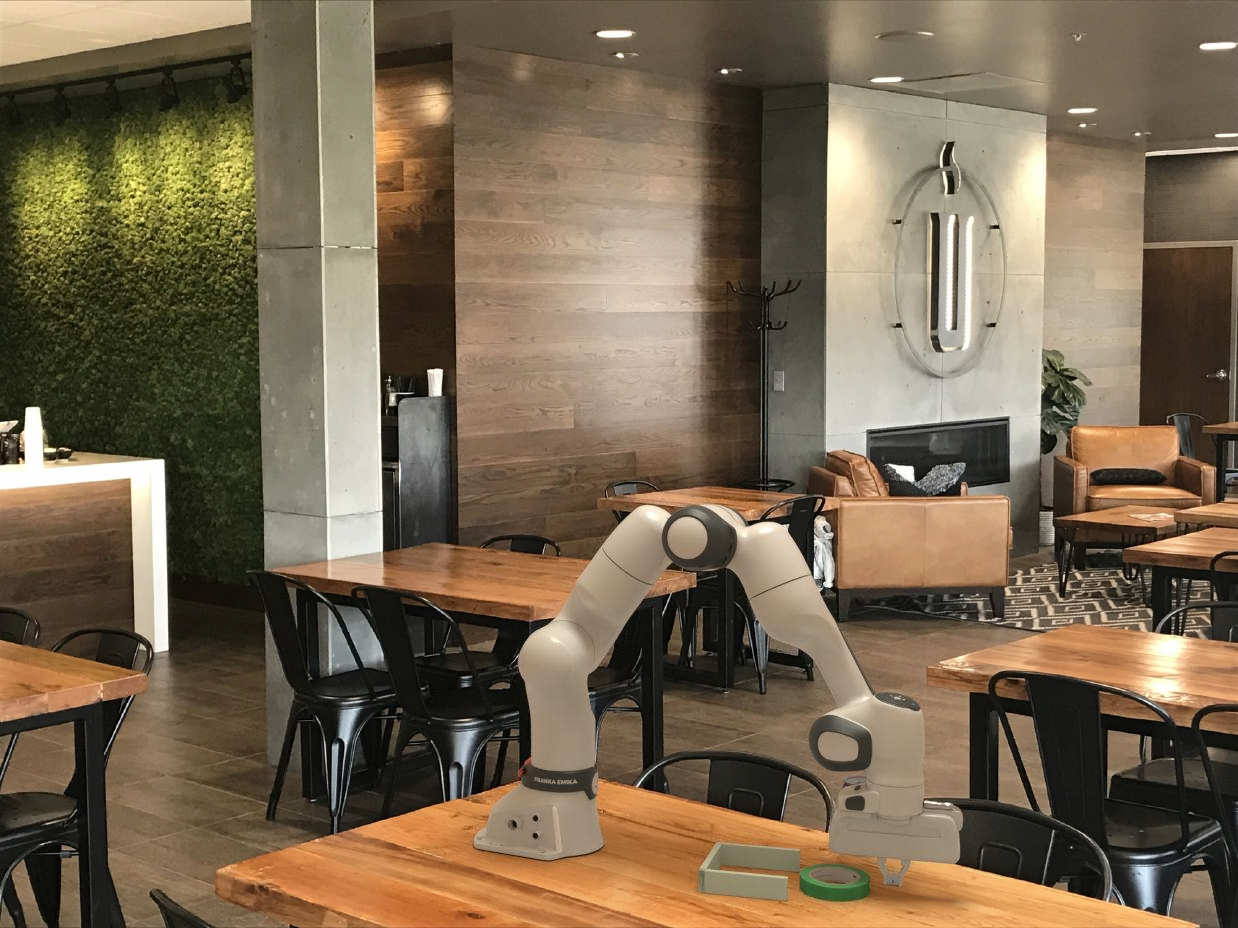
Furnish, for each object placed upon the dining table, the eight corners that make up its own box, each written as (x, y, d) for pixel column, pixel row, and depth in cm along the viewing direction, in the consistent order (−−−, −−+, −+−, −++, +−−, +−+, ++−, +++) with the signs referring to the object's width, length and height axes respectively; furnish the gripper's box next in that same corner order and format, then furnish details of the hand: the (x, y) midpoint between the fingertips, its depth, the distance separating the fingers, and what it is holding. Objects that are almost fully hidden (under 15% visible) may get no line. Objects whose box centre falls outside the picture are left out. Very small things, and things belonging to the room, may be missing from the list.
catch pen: (698, 892, 229) (698, 870, 229) (716, 862, 244) (716, 841, 243) (786, 900, 225) (787, 878, 225) (800, 870, 240) (800, 849, 240)
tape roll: (871, 905, 225) (871, 888, 225) (799, 901, 226) (799, 884, 226) (868, 880, 236) (868, 864, 236) (799, 877, 237) (799, 861, 237)
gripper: (964, 798, 228) (961, 884, 229) (832, 787, 233) (831, 872, 234) (962, 809, 222) (960, 898, 223) (828, 797, 227) (826, 885, 228)
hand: (893, 884), depth 229 cm, fingers closed
